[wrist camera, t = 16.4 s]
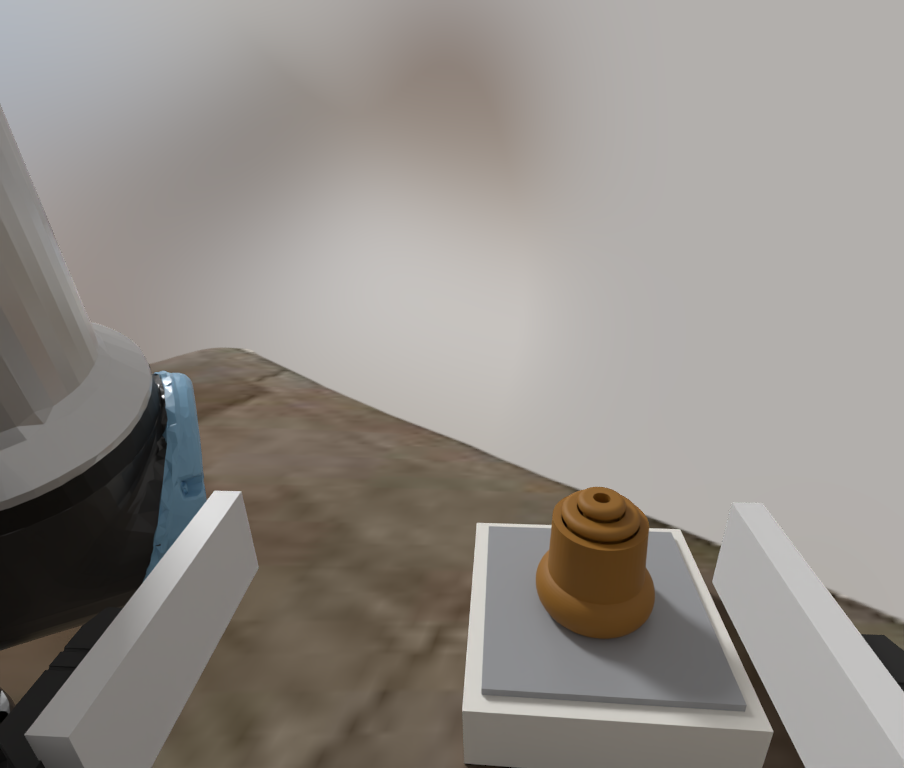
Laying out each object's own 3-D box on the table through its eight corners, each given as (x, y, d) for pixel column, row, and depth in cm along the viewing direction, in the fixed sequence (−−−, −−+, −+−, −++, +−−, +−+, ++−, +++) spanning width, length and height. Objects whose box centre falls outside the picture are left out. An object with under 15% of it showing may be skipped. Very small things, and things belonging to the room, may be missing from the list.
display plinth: (464, 763, 31) (462, 704, 29) (477, 565, 45) (476, 517, 43) (756, 786, 29) (775, 725, 27) (672, 573, 44) (680, 524, 42)
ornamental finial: (675, 636, 32) (557, 656, 31) (620, 552, 39) (521, 566, 38) (695, 529, 29) (563, 547, 28) (631, 458, 36) (524, 471, 35)
